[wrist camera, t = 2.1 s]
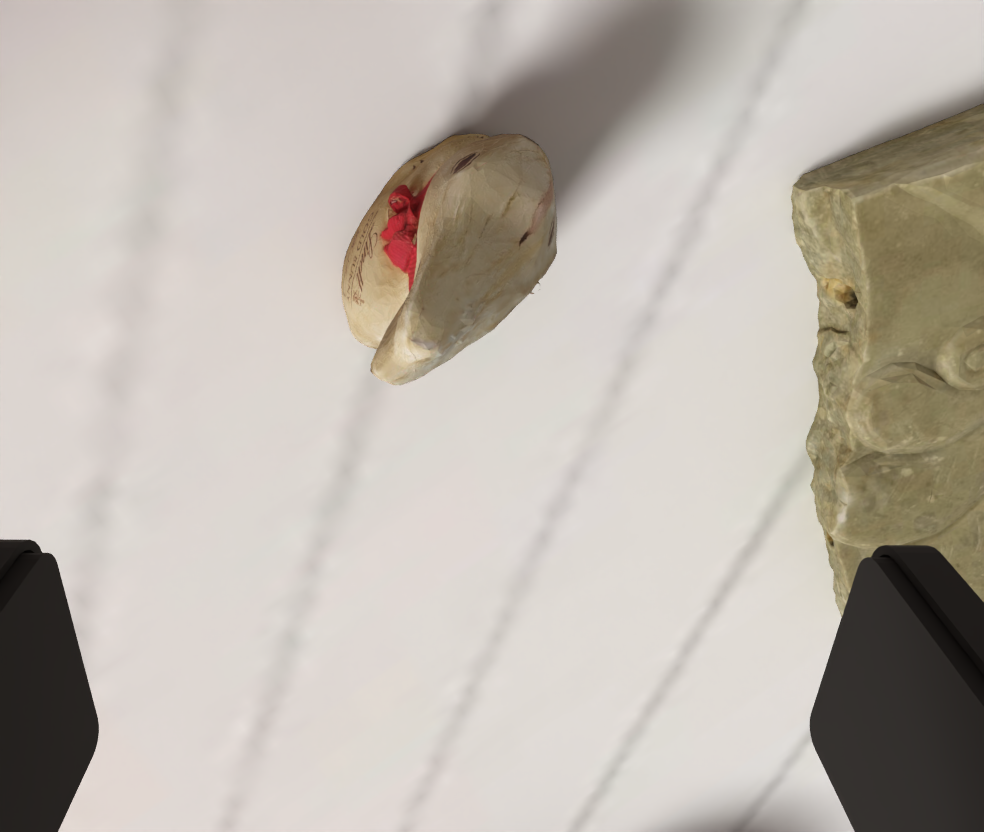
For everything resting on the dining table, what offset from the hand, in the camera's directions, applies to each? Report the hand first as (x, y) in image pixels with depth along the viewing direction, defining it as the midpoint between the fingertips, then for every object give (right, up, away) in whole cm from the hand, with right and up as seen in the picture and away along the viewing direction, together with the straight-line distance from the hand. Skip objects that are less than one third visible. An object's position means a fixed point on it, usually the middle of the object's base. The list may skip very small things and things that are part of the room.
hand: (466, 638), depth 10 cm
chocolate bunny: (-1, +9, +16) cm, 19 cm away
